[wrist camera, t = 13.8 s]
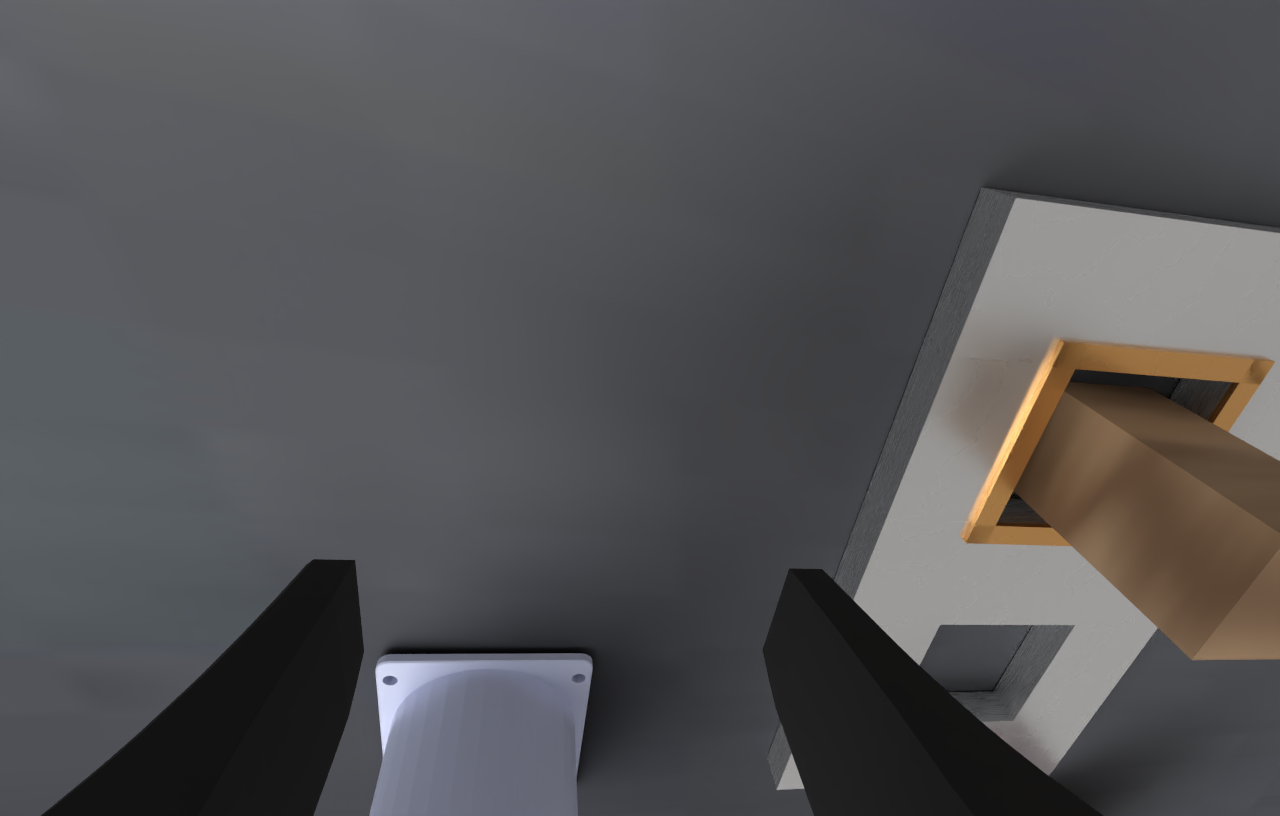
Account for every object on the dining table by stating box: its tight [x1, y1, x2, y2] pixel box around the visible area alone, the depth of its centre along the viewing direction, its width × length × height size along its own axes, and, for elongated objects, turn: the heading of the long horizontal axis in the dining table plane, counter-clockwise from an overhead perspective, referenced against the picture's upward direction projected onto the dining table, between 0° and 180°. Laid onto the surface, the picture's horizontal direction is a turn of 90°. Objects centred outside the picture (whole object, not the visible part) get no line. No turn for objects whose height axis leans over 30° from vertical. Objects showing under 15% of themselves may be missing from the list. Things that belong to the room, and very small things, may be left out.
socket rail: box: [767, 187, 1280, 790], centre depth 24 cm, size 26×14×2 cm, turn 172°
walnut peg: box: [1013, 382, 1280, 660], centre depth 19 cm, size 4×4×8 cm
